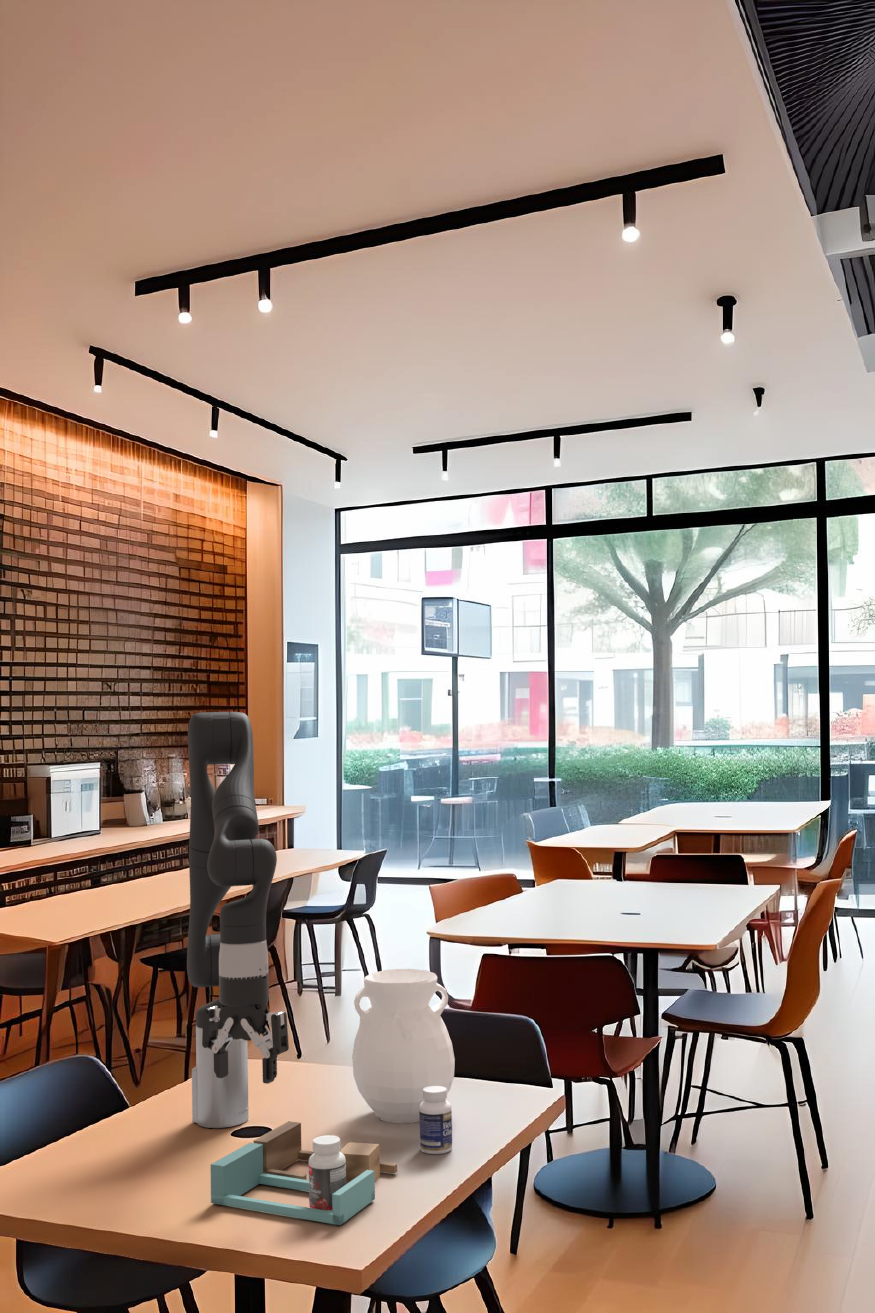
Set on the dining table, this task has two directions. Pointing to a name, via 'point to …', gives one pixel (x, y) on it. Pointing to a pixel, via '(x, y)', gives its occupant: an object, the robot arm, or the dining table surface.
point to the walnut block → (361, 1159)
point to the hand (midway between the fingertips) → (245, 1079)
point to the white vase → (401, 1043)
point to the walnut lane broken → (292, 1151)
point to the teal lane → (247, 1172)
